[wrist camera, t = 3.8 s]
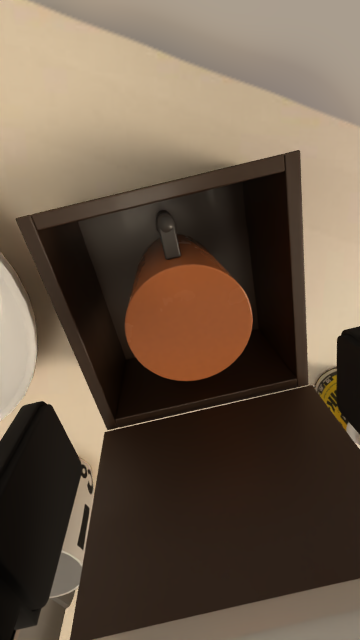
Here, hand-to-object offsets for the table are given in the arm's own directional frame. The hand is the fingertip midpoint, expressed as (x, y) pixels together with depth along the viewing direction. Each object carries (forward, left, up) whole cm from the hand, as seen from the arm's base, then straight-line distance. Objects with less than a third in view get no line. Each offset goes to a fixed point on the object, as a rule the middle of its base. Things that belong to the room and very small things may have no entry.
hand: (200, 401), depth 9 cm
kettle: (0, 0, -16) cm, 16 cm away
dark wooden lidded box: (0, 0, -17) cm, 17 cm away
